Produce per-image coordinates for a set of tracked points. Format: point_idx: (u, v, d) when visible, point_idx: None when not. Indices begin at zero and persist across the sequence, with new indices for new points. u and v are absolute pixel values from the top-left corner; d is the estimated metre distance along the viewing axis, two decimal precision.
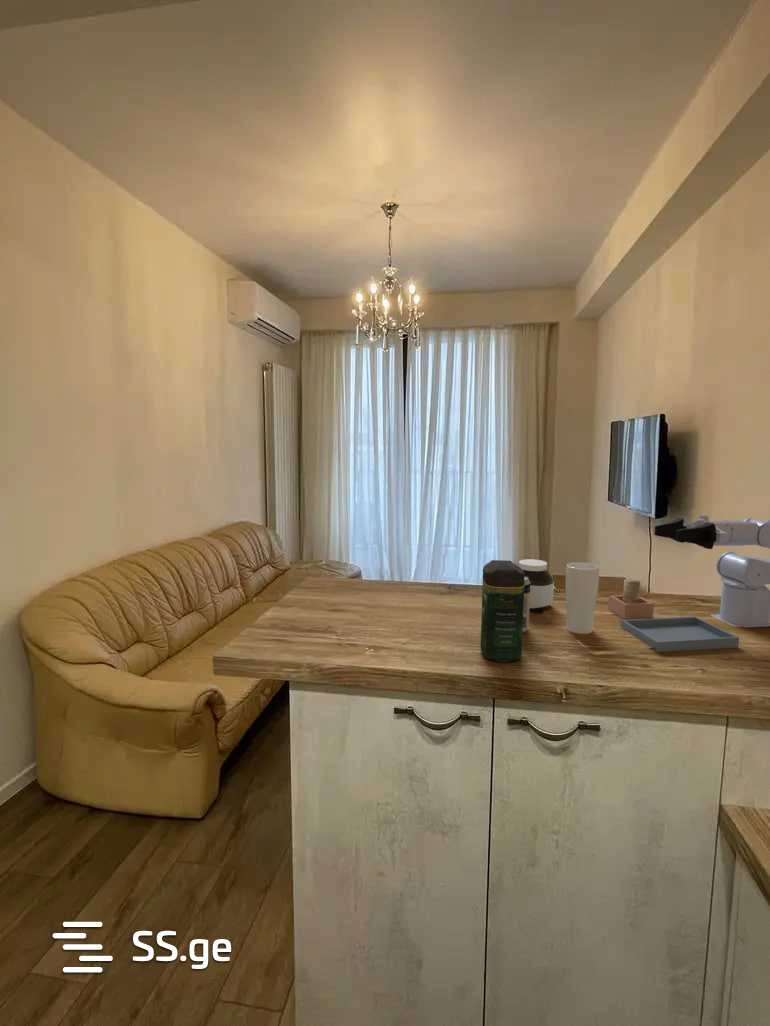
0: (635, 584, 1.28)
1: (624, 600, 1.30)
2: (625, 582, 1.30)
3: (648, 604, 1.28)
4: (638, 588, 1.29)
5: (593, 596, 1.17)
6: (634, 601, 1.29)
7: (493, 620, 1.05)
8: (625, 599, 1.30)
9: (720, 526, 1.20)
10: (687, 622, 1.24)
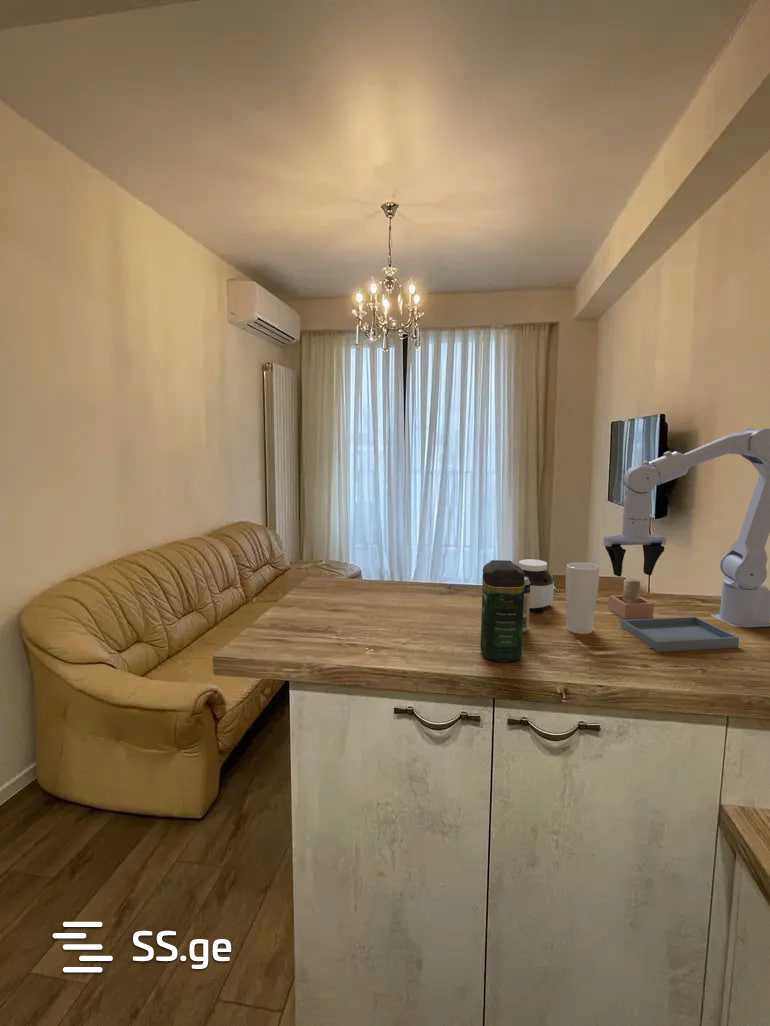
0: (635, 584, 1.28)
1: (624, 600, 1.30)
2: (625, 582, 1.30)
3: (648, 604, 1.28)
4: (638, 588, 1.29)
5: (593, 596, 1.17)
6: (634, 601, 1.29)
7: (493, 620, 1.05)
8: (625, 599, 1.30)
9: (622, 527, 1.30)
10: (687, 622, 1.24)
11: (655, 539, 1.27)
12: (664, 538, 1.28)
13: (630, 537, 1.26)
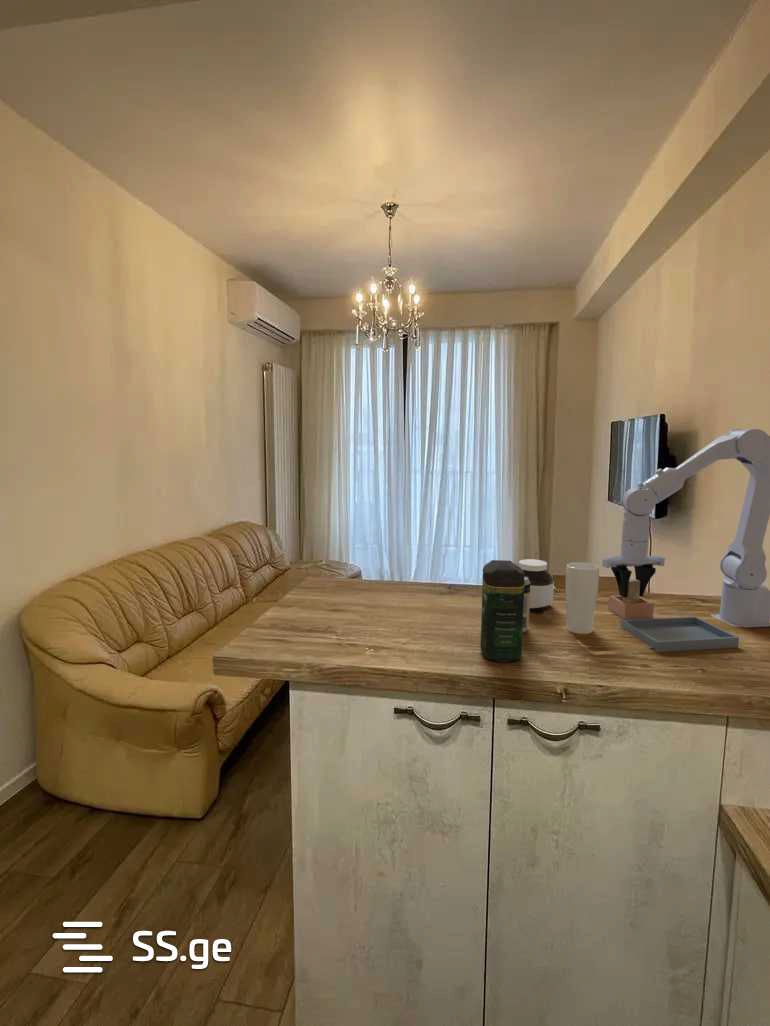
0: (635, 584, 1.28)
1: (624, 600, 1.30)
2: None
3: (648, 604, 1.28)
4: (638, 588, 1.29)
5: (593, 596, 1.17)
6: (634, 601, 1.29)
7: (493, 620, 1.05)
8: (625, 599, 1.30)
9: (621, 548, 1.30)
10: (687, 622, 1.24)
11: (653, 561, 1.28)
12: (662, 559, 1.29)
13: (629, 559, 1.27)
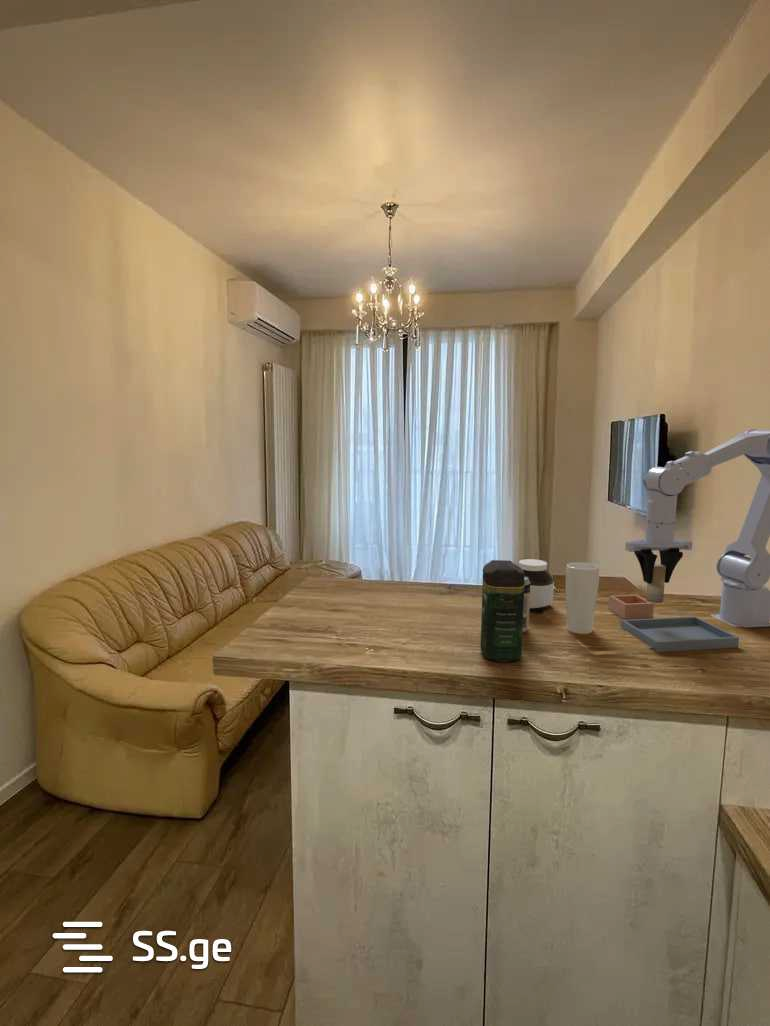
0: (660, 569, 1.20)
1: (648, 586, 1.22)
2: None
3: (648, 604, 1.28)
4: (664, 573, 1.21)
5: (593, 596, 1.17)
6: (659, 587, 1.21)
7: (493, 620, 1.05)
8: (649, 586, 1.22)
9: (645, 531, 1.22)
10: (687, 622, 1.24)
11: (680, 544, 1.20)
12: (690, 543, 1.21)
13: (654, 542, 1.19)
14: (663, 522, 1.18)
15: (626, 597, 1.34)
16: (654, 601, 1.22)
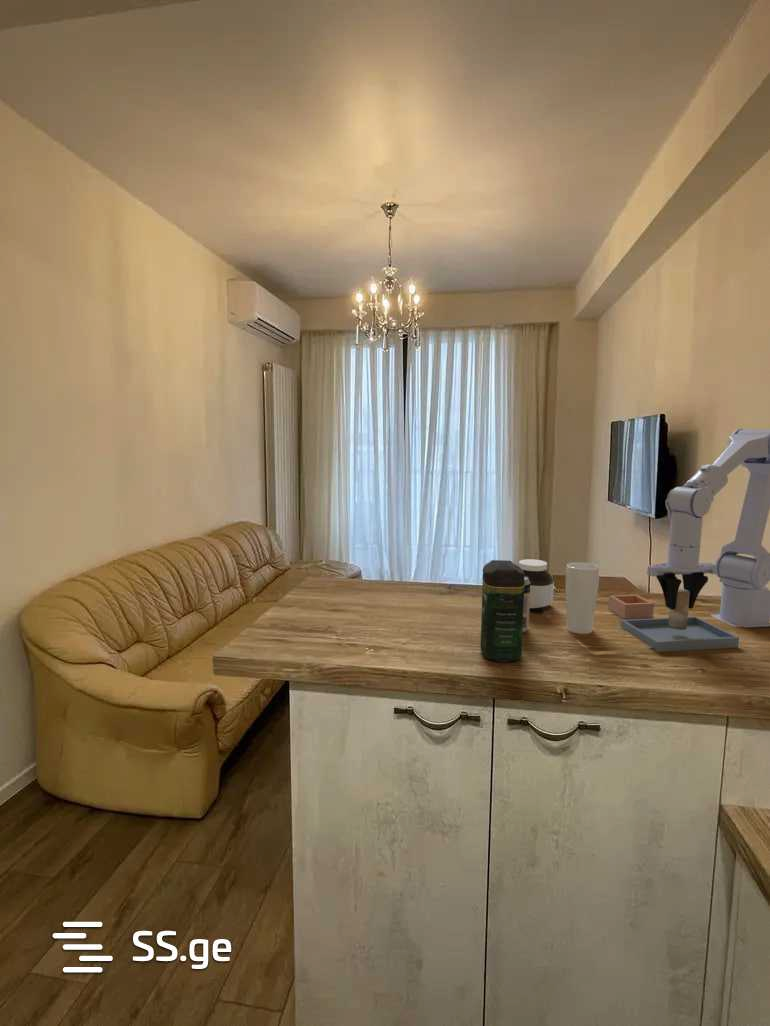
0: (684, 595, 1.14)
1: (671, 612, 1.16)
2: None
3: (648, 604, 1.28)
4: (688, 599, 1.15)
5: (593, 596, 1.17)
6: (683, 614, 1.15)
7: (493, 620, 1.05)
8: (673, 612, 1.16)
9: (668, 554, 1.16)
10: (687, 622, 1.24)
11: (705, 568, 1.14)
12: (715, 567, 1.15)
13: (678, 566, 1.13)
14: (693, 545, 1.11)
15: (626, 597, 1.34)
16: (677, 628, 1.16)
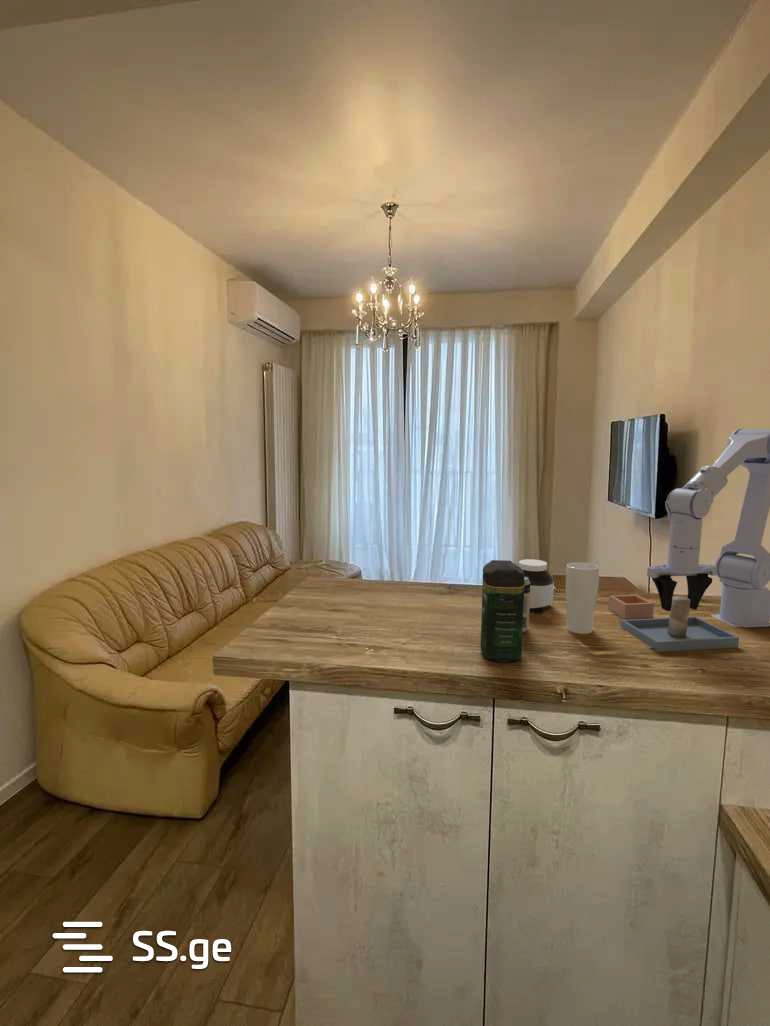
0: (685, 603, 1.14)
1: (671, 620, 1.16)
2: (673, 601, 1.16)
3: (648, 604, 1.28)
4: (688, 608, 1.15)
5: (593, 596, 1.17)
6: (683, 622, 1.15)
7: (493, 620, 1.05)
8: (672, 620, 1.16)
9: (668, 555, 1.16)
10: None
11: (705, 570, 1.14)
12: (715, 568, 1.15)
13: (678, 568, 1.13)
14: (692, 547, 1.11)
15: (626, 597, 1.34)
16: (676, 636, 1.16)
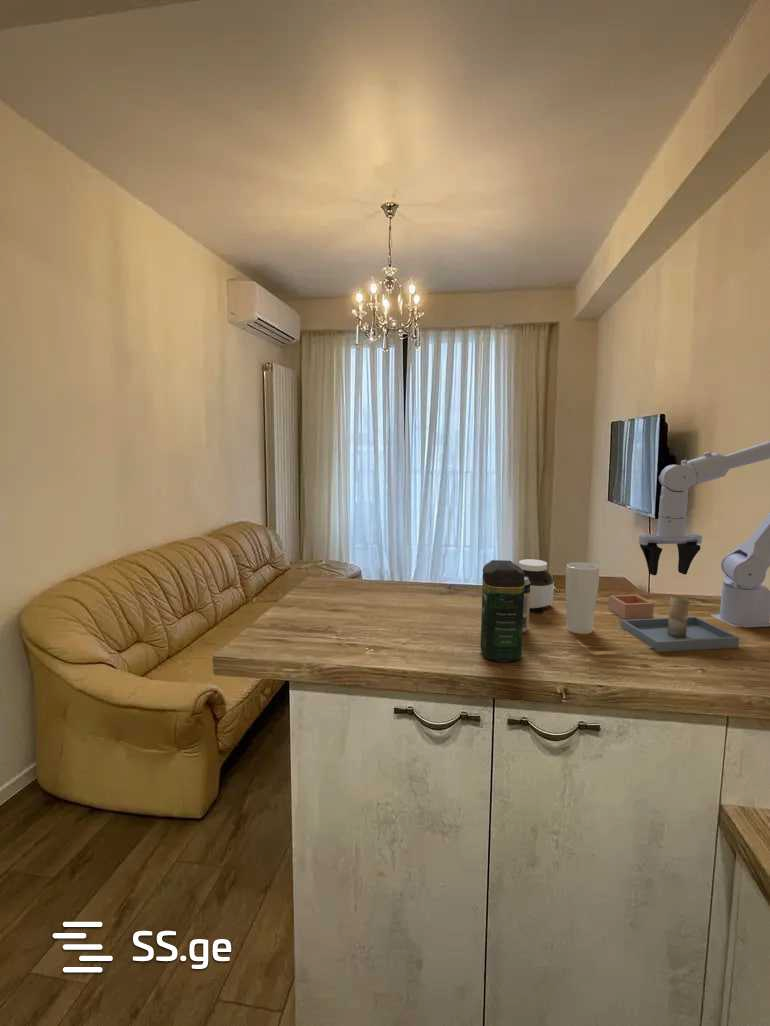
0: (684, 603, 1.15)
1: (670, 620, 1.17)
2: (672, 600, 1.16)
3: (648, 604, 1.28)
4: (687, 607, 1.15)
5: (593, 596, 1.17)
6: (682, 622, 1.15)
7: (493, 620, 1.05)
8: (672, 620, 1.16)
9: None
10: (687, 622, 1.24)
11: (691, 538, 1.27)
12: (700, 537, 1.28)
13: (666, 536, 1.26)
14: (669, 516, 1.25)
15: (626, 597, 1.34)
16: (676, 636, 1.16)
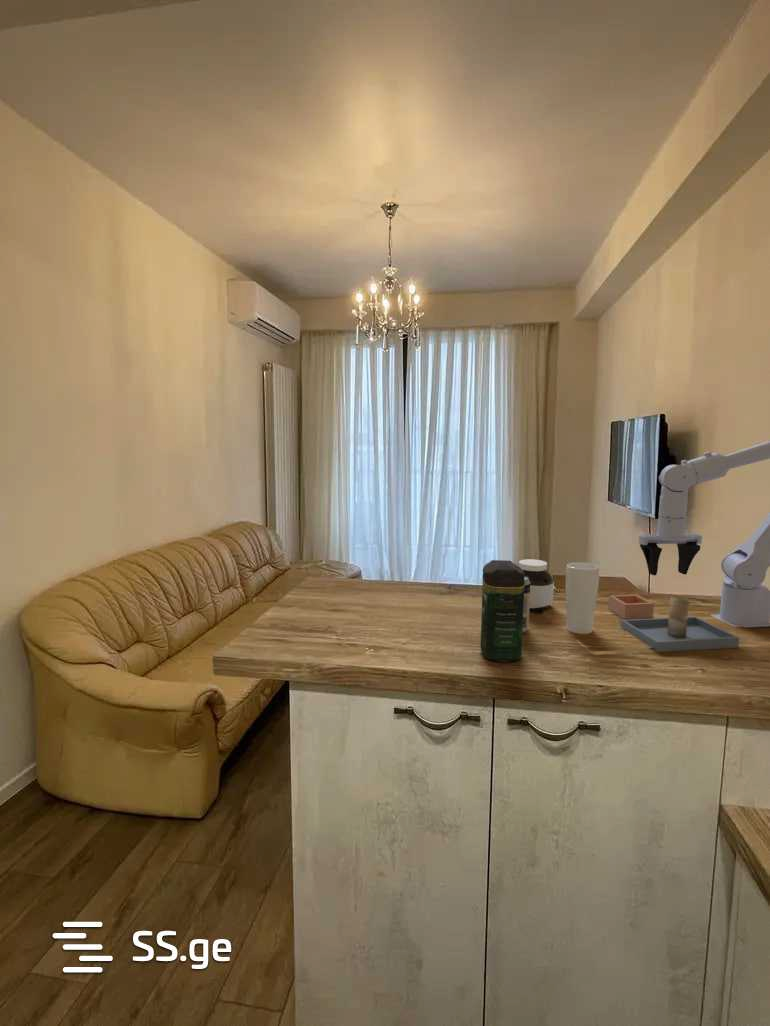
0: (684, 603, 1.15)
1: (670, 620, 1.17)
2: (672, 600, 1.16)
3: (648, 604, 1.28)
4: (687, 607, 1.15)
5: (593, 596, 1.17)
6: (682, 622, 1.15)
7: (493, 620, 1.05)
8: (672, 620, 1.16)
9: None
10: (687, 622, 1.24)
11: (691, 538, 1.27)
12: (700, 537, 1.28)
13: (666, 536, 1.26)
14: (669, 516, 1.25)
15: (626, 597, 1.34)
16: (676, 636, 1.16)
